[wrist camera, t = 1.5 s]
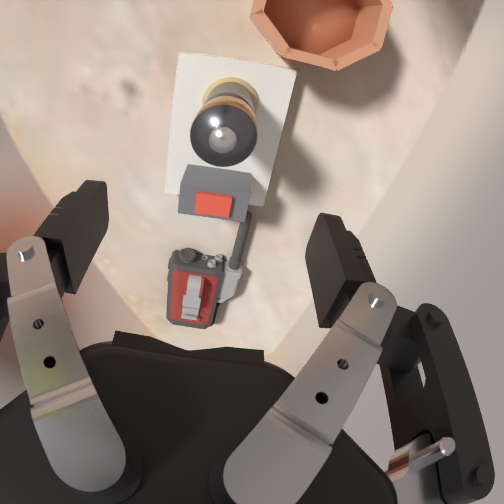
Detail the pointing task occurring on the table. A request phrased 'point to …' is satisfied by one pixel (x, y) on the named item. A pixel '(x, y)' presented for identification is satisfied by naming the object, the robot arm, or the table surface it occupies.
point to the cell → (225, 126)
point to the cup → (323, 29)
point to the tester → (233, 177)
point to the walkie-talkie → (202, 282)
